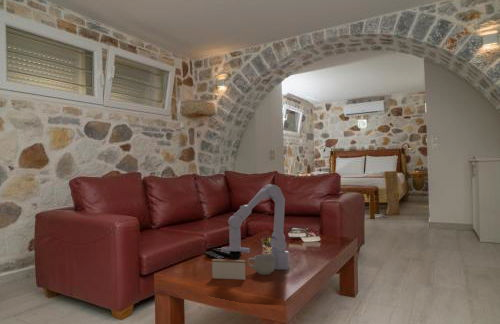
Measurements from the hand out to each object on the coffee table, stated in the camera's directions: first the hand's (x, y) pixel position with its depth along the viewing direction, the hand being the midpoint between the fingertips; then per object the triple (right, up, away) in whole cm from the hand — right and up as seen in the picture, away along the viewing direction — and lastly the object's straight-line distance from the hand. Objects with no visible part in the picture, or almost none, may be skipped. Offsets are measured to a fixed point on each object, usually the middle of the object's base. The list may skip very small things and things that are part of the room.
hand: (235, 266), depth 170 cm
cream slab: (-3, -3, -10) cm, 10 cm away
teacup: (+13, -3, -2) cm, 14 cm away
